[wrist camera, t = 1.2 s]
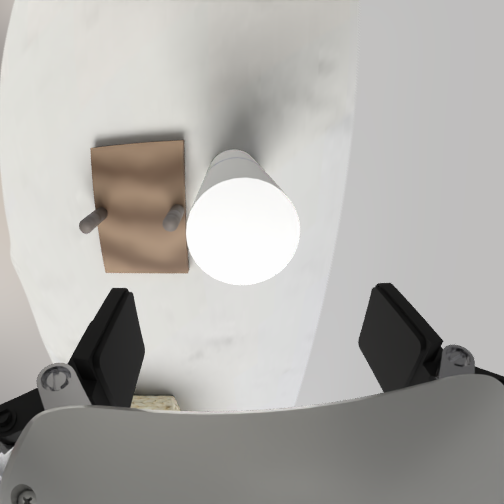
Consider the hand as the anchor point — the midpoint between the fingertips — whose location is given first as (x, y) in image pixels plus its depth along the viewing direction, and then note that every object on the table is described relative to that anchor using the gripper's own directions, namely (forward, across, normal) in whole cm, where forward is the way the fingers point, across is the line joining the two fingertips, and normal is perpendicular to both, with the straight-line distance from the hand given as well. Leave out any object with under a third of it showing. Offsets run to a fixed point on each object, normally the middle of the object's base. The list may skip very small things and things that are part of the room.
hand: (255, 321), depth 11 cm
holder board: (+33, +14, +4) cm, 36 cm away
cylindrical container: (+34, 0, -1) cm, 34 cm away
